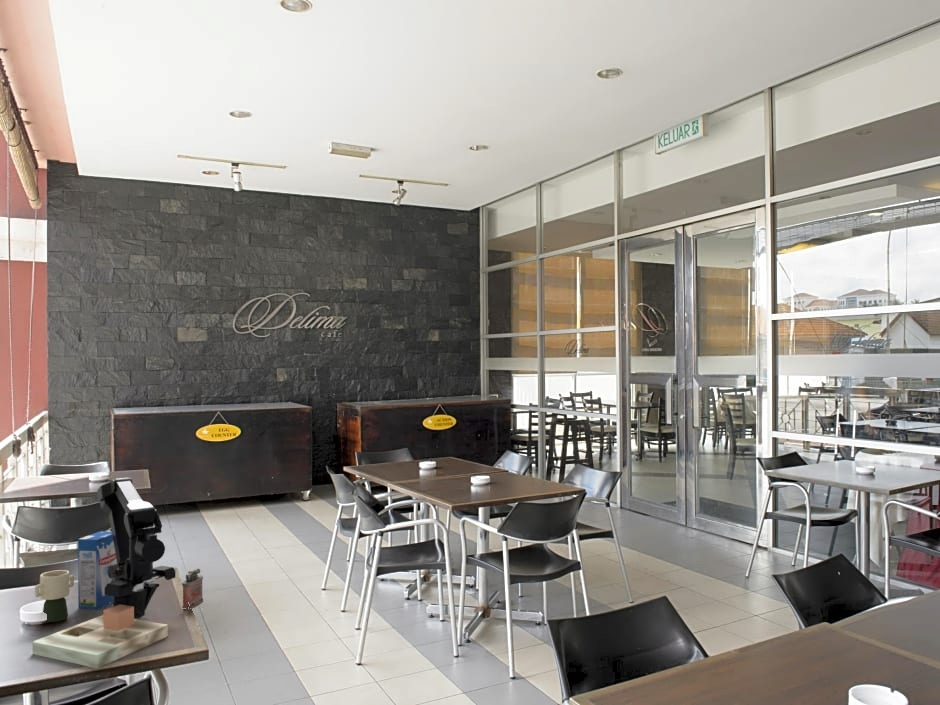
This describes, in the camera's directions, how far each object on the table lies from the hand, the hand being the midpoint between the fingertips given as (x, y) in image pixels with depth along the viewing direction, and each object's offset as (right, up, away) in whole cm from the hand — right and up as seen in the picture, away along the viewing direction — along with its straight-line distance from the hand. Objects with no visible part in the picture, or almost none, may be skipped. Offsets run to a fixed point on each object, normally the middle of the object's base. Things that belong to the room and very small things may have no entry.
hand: (141, 613), depth 194 cm
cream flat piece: (-5, -4, -11) cm, 13 cm away
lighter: (+7, -4, +18) cm, 20 cm away
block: (-3, -1, -7) cm, 7 cm away
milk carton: (-22, -5, +21) cm, 30 cm away
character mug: (-27, -5, +6) cm, 28 cm away
